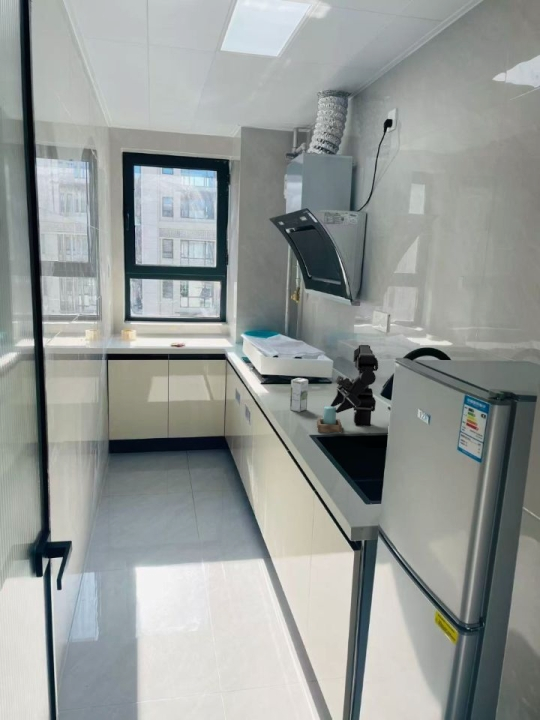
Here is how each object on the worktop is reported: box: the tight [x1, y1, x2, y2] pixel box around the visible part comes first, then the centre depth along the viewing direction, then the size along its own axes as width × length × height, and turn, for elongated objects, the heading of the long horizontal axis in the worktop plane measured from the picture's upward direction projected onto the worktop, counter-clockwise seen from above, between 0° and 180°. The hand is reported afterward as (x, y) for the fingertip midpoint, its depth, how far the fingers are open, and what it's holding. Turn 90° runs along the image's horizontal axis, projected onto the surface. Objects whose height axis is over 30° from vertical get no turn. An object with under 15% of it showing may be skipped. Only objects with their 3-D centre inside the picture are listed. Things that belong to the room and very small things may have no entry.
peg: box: [322, 405, 337, 425], centre depth 228 cm, size 5×5×9 cm
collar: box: [316, 418, 343, 433], centre depth 228 cm, size 9×9×3 cm
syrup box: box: [289, 377, 309, 413], centre depth 256 cm, size 6×6×14 cm
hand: (333, 409), depth 228 cm, fingers open, 9 cm apart
